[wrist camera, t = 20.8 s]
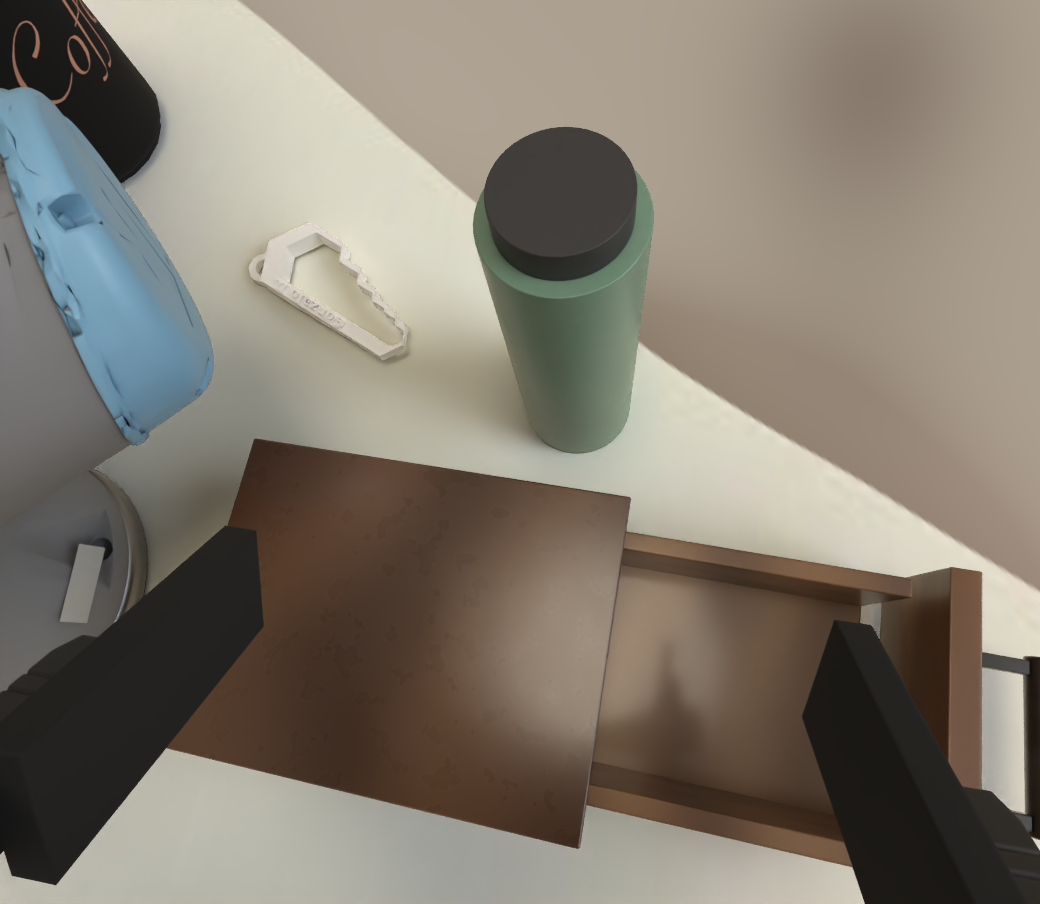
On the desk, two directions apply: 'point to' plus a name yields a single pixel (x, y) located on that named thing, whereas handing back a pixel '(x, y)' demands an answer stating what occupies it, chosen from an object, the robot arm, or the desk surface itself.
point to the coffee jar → (81, 77)
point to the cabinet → (422, 637)
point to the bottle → (568, 278)
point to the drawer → (774, 687)
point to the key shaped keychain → (278, 281)
